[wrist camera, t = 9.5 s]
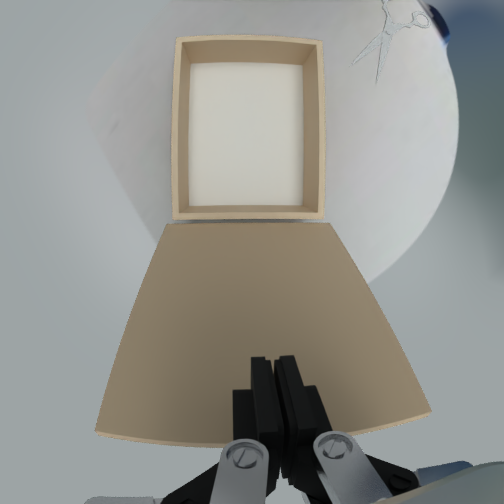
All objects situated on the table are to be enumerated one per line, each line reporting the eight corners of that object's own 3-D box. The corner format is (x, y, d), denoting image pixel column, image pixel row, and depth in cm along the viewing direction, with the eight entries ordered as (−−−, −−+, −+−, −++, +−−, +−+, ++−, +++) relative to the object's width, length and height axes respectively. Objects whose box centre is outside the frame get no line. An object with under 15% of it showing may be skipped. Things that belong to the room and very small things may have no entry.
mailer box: (186, 61, 29) (176, 37, 22) (306, 63, 30) (322, 40, 23) (184, 210, 34) (172, 220, 27) (306, 210, 34) (323, 219, 28)
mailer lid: (94, 430, 10) (98, 435, 10) (431, 411, 11) (427, 416, 11) (166, 223, 27) (167, 228, 27) (329, 222, 28) (328, 227, 28)
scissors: (434, 14, 27) (396, 100, 31) (432, 16, 28) (393, 101, 32) (378, -27, 26) (326, 52, 29) (376, -25, 26) (325, 54, 30)
